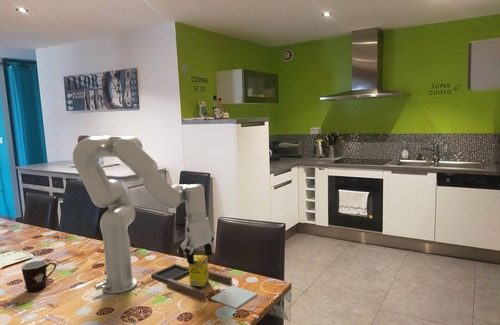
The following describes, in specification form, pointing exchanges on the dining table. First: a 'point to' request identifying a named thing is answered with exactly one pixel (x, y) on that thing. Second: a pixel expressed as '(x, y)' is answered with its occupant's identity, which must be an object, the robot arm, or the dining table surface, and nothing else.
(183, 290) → the wooden bars
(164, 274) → the tray
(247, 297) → the pad
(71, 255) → the dining table surface
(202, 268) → the supplement box
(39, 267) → the coffee mug
